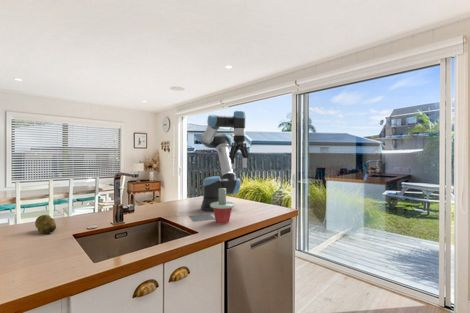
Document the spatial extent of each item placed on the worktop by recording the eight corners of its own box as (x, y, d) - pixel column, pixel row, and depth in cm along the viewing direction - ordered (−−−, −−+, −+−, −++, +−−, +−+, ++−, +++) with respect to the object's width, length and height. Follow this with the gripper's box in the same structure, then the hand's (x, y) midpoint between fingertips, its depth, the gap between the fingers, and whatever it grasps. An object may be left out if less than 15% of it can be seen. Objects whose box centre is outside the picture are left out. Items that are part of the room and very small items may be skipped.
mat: (188, 216, 160) (188, 215, 160) (209, 214, 165) (209, 213, 165) (193, 222, 147) (193, 221, 147) (215, 220, 152) (215, 219, 152)
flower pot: (229, 225, 141) (229, 208, 141) (210, 224, 143) (210, 207, 143) (233, 220, 151) (233, 204, 151) (216, 219, 153) (216, 203, 153)
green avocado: (35, 236, 120) (35, 220, 120) (35, 230, 130) (35, 214, 130) (56, 233, 126) (56, 217, 125) (54, 227, 136) (54, 212, 135)
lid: (207, 204, 151) (207, 187, 151) (229, 202, 156) (229, 186, 156) (214, 209, 138) (214, 191, 138) (237, 207, 143) (237, 189, 142)
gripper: (244, 136, 174) (244, 167, 174) (223, 134, 153) (223, 169, 154) (253, 136, 170) (253, 167, 170) (233, 134, 149) (233, 169, 149)
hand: (239, 168), depth 162 cm, fingers open, 13 cm apart
